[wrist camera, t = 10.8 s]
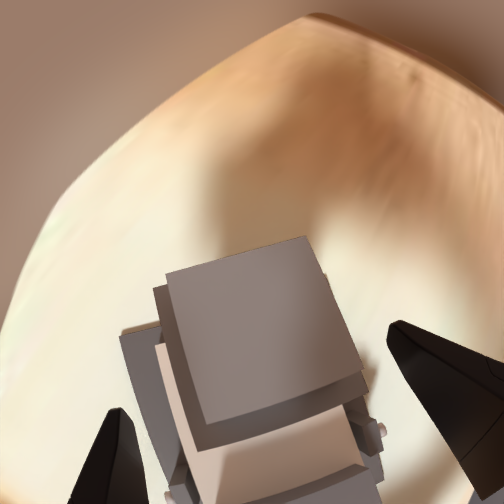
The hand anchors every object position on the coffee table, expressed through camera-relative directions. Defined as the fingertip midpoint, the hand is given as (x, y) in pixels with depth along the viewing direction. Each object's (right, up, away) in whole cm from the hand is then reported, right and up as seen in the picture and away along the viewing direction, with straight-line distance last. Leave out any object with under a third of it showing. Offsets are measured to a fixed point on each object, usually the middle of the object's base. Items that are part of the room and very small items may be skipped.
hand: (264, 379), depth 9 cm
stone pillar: (-1, -4, +9) cm, 10 cm away
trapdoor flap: (0, -7, +8) cm, 11 cm away
